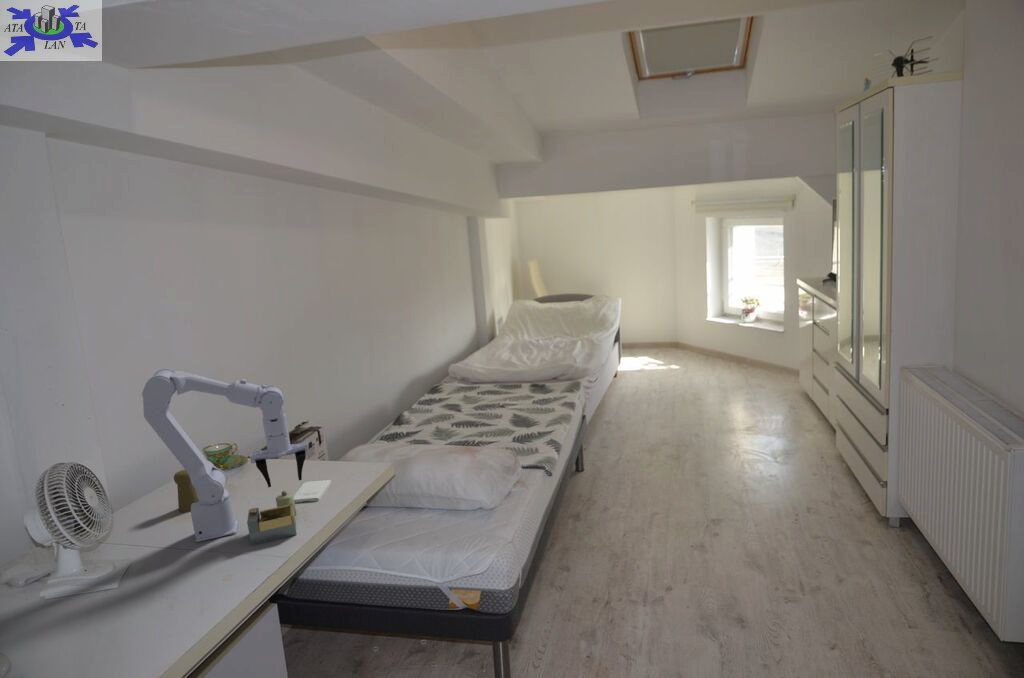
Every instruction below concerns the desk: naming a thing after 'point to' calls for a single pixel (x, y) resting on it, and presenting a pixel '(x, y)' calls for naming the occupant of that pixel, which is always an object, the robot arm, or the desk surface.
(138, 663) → the desk surface
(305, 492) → the external hard drive
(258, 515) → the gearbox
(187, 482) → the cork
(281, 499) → the spout can
